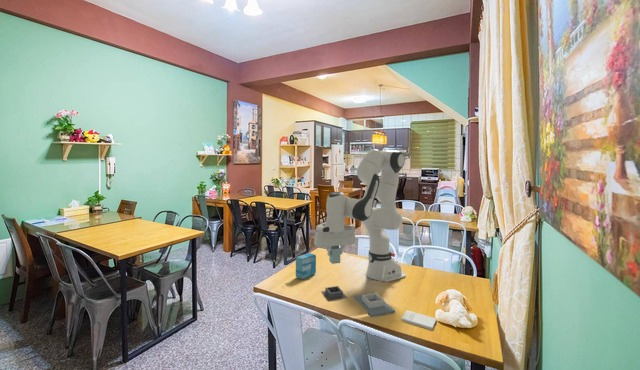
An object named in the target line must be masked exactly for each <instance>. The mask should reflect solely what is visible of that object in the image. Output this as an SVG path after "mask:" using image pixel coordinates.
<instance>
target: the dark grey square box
mask: <svg viewBox="0 0 640 370" xmlns="http://www.w3.org/2000/svg"><path fill="white" fill-rule="evenodd" d="M321 294H322V295H323V296H324V297H325V299H326V300H327V301H328V302H331V301H337V300H338V301H339V300H343V299H348V296H347V295H346V294H345V293H344V291H343V290H342V289H341V288H340V286H338V285H336V286H335V285H334V286H328V287H325V289H324V290H323V291H321Z"/></svg>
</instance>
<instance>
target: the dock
mask: <svg viewBox="0 0 640 370" xmlns="http://www.w3.org/2000/svg"><path fill="white" fill-rule="evenodd" d="M352 297H353V298H354V299H355V300H356V301H357V303H358V304H359V305H361V306H362V308H363V309H365V311H366V312H367V316H369V317H370V318H374V317H375V318H376V317H381V316H386V315H391V314H395V313H396V310H395V309H394V308H393V307H392V306H390V305H389V304H388V303H387V302H386V300H385V299H384V298H383V297H381V296H380V295H379V294H378V293H377V292H370V293H364V294H363V293H362V294H357V295H352Z"/></svg>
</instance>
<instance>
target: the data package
mask: <svg viewBox="0 0 640 370" xmlns="http://www.w3.org/2000/svg"><path fill="white" fill-rule="evenodd" d="M316 271H317V255H316V254H314V253H312V252H308V253H305V254H301V255H299V256H296V258H295V277H296V278H297V279H300V280H304V279H307V278H311V277H312V276H315V274H316Z"/></svg>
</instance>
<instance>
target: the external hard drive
mask: <svg viewBox="0 0 640 370" xmlns="http://www.w3.org/2000/svg"><path fill="white" fill-rule="evenodd" d="M400 320H401V321H402V322H404V323H405V322H406V323H408V324H412V325H414V326H419V327H421V328H424V329H427V330H429V331H430V330H431V331H432V330H434V327H435V325H436V323H437V321H438V319H437V318H435V317H432V316H428V315H425V314H422V313H418V312H414V311H410V310H407V309H406V311H405V312H404V313H403V315H402V316H401V319H400Z"/></svg>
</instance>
